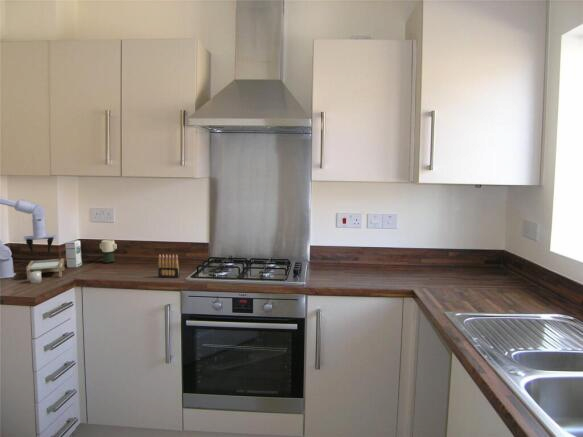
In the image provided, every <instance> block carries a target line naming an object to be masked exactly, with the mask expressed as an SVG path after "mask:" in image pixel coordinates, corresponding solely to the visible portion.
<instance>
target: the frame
mask: <svg viewBox="0 0 583 437" xmlns="http://www.w3.org/2000/svg"><path fill="white" fill-rule="evenodd" d="M59 261H60V262H59V264H58V267H55V268H43V269H31V268H30V267H31V266H32V265H33V264H34V263H35V260H30V261H29V263H28V265H26V266H25V269H26V280H27V281H30V272H33V271H41V274H42V273H51V272H52V273H53V272H58V277H59V278H62V277H63V272H64V271H65V258H63V257H62V258H60V259H59Z"/></svg>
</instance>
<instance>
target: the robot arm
mask: <svg viewBox="0 0 583 437" xmlns="http://www.w3.org/2000/svg"><path fill="white" fill-rule="evenodd" d="M0 205H4V206H8V207H11V208H14V209H15V211H17V212H21V213H24V214H27V215H28V214H29V215H30V214H31V216H32V218H31V222H32V234H33V235H28V236H27V235H25V236H23V241H25V243H26V245H27V246H28V248H29V250H30V253H31V255H33V254H34V251H35V250H34V244H33V243H34V241H36V240H37V241H38V240H47V253H48V254H50V253H51V248H52V247H51V246H52V244H53V241H54V240H55V239H56V234H47V232H46V220H45V214H46V210H45V207H44V206H42V205H40V204H38V203H37V204H36V202H33V203H32V202H29V201H26V199H22V200H21V199H18V200H16V201H15V200H12V199H9V198H5V197H1V196H0ZM16 275H17V274H16V272H15V271H14V260H13V257H12V251H11V248H10V247H9V246H7V245H5V244H4V243H3V241H2V239H0V279H10V278H14V277H15V276H16Z"/></svg>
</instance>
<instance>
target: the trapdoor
mask: <svg viewBox="0 0 583 437" xmlns="http://www.w3.org/2000/svg"><path fill="white" fill-rule="evenodd" d="M59 262H60V259H59V258H56V259H55V258H54V259H42V260H39V259H38V260H34V264H33V265H32V266H31V267H30V268H31V269H30V270H32V269H43V268H55V267H58V264H59Z"/></svg>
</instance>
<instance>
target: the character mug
mask: <svg viewBox="0 0 583 437" xmlns="http://www.w3.org/2000/svg"><path fill="white" fill-rule="evenodd" d="M117 246H118V245H117V243H116V242H115V239H105V240H101V243H99V249H101V252H102V253H103V257H102V258H103V259H102V262H103V263H106V264H107V263H112V262H115V261H116V259H115V255H114V254H115V253H113V252H115V250H117V248H118V247H117Z"/></svg>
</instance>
